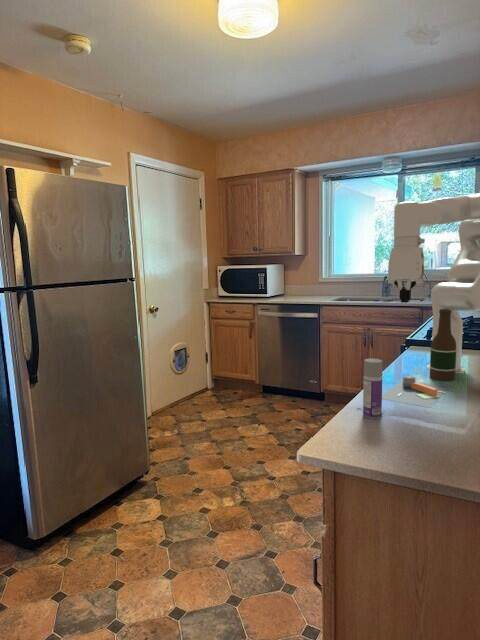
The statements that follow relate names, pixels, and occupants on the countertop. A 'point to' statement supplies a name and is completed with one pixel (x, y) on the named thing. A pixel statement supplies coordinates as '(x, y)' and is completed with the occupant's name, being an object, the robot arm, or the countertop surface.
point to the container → (372, 388)
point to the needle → (418, 385)
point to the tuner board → (414, 395)
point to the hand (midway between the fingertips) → (405, 302)
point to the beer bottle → (443, 350)
